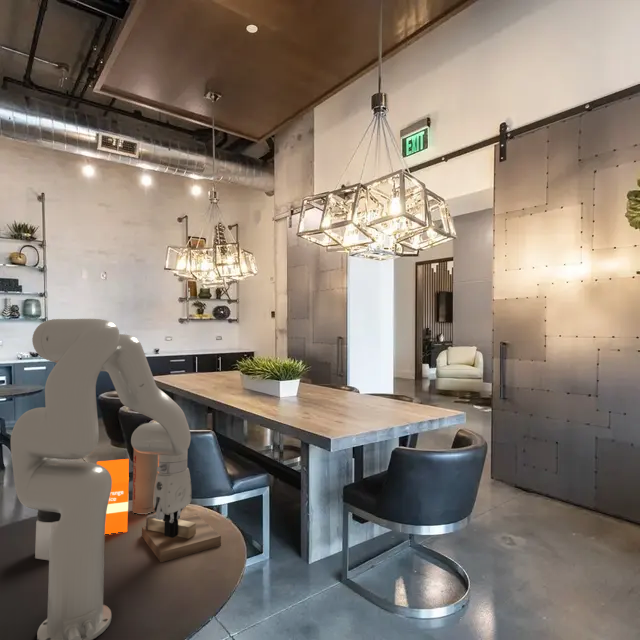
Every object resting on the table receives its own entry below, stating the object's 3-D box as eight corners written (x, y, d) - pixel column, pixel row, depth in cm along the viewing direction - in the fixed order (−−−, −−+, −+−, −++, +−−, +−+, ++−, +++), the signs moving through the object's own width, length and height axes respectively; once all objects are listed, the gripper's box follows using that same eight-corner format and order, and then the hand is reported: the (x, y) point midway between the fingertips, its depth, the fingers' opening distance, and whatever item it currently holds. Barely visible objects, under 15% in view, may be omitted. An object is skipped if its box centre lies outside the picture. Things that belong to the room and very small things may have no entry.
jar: (42, 546, 119) (43, 501, 120) (75, 543, 122) (77, 498, 122) (31, 563, 111) (32, 514, 111) (67, 558, 113) (69, 510, 114)
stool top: (220, 545, 121) (220, 535, 121) (160, 562, 112) (161, 552, 112) (196, 522, 136) (196, 514, 136) (141, 536, 126) (142, 527, 126)
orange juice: (95, 526, 133) (97, 458, 133) (127, 521, 136) (129, 455, 137) (93, 537, 125) (95, 465, 126) (127, 532, 129) (129, 462, 130)
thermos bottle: (130, 516, 140) (133, 426, 141) (133, 506, 148) (135, 421, 149) (157, 513, 142) (159, 425, 143) (159, 504, 150) (160, 420, 151)
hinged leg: (143, 528, 125) (143, 517, 125) (151, 524, 127) (151, 513, 127) (188, 538, 119) (188, 527, 119) (195, 534, 121) (195, 522, 122)
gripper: (163, 475, 111) (162, 550, 110) (201, 460, 125) (200, 527, 124) (140, 471, 114) (138, 545, 113) (180, 457, 128) (178, 522, 127)
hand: (171, 535), depth 119 cm, fingers closed
